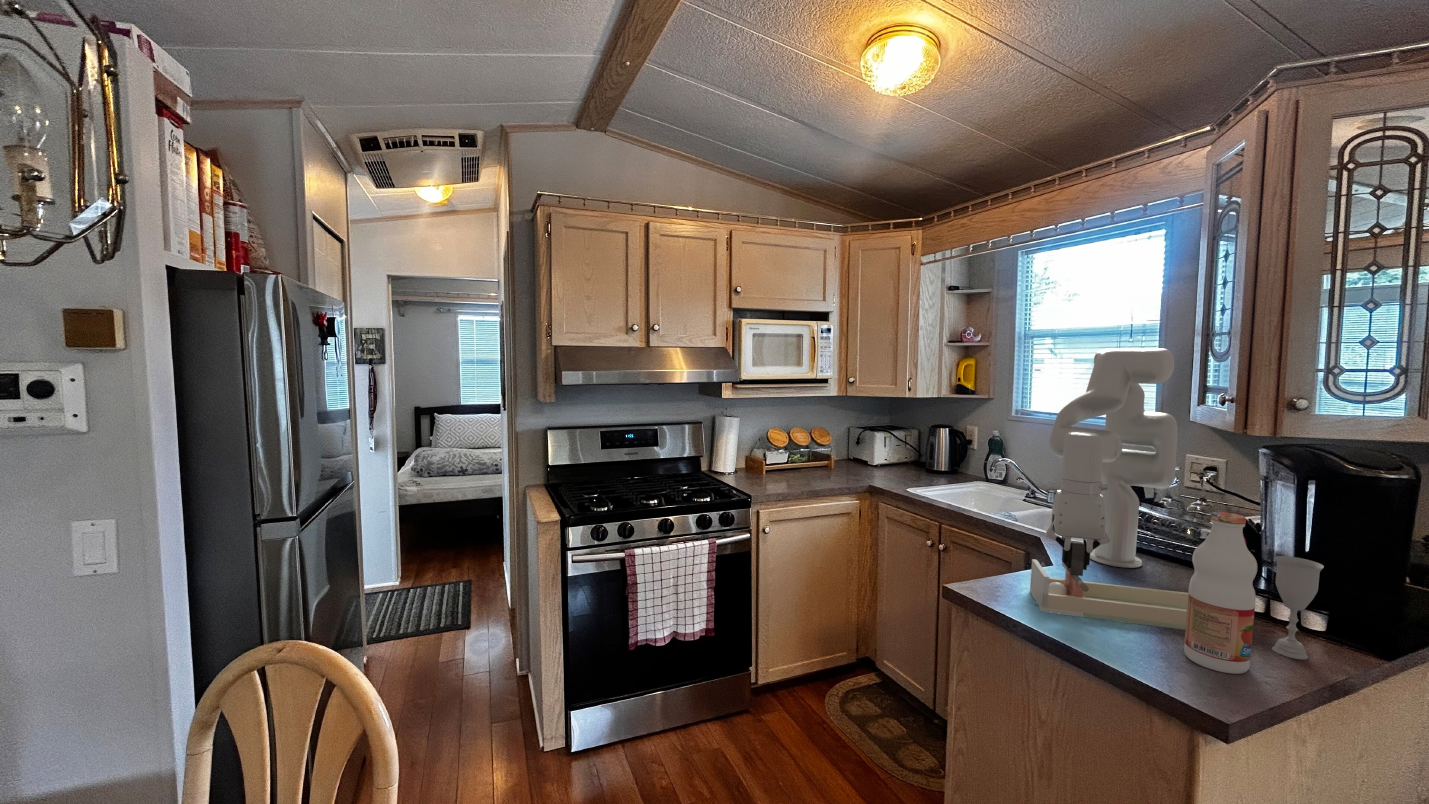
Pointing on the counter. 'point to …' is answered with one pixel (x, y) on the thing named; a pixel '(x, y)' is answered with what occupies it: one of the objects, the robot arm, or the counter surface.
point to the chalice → (1295, 597)
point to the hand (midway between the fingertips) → (1075, 566)
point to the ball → (1057, 588)
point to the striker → (1075, 571)
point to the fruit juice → (1221, 598)
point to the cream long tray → (1112, 602)
